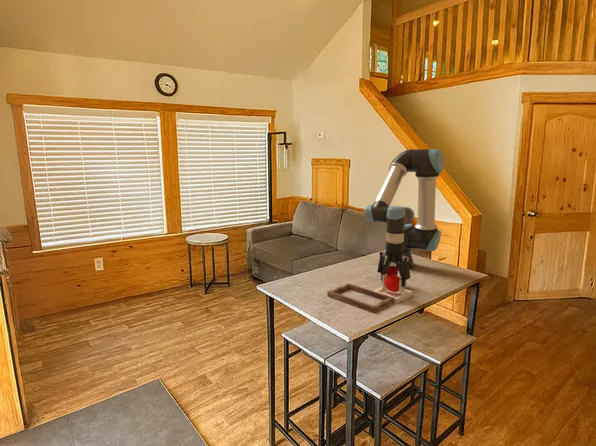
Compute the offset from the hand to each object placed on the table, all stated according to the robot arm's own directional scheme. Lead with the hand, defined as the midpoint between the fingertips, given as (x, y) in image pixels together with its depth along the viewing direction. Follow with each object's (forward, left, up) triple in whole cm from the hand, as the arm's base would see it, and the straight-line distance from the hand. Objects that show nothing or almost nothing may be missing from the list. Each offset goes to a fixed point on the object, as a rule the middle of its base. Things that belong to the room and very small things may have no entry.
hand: (392, 290), depth 169 cm
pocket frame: (+14, -8, -2) cm, 16 cm away
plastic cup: (-11, -9, -2) cm, 15 cm away
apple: (0, 0, -1) cm, 1 cm away
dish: (0, 0, -2) cm, 2 cm away
